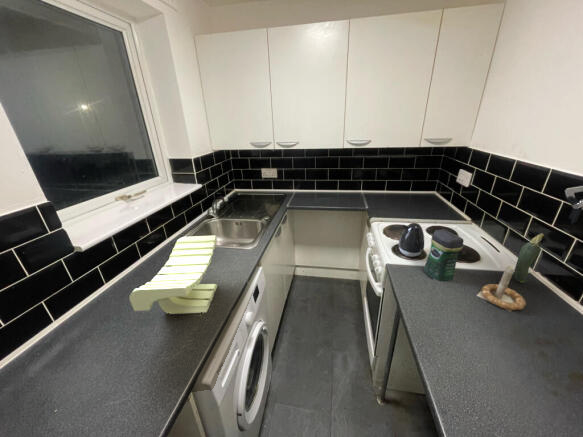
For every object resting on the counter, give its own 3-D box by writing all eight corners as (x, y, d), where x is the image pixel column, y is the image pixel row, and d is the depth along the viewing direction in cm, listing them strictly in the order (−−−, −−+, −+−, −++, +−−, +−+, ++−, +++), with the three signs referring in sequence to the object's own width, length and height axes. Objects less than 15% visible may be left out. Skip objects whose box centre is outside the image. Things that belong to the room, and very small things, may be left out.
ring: (529, 301, 74) (531, 296, 73) (516, 317, 69) (519, 311, 68) (488, 283, 82) (490, 278, 82) (475, 296, 77) (477, 291, 76)
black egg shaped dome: (394, 247, 109) (398, 218, 103) (417, 248, 108) (423, 218, 102) (400, 259, 100) (405, 228, 94) (425, 260, 99) (433, 229, 92)
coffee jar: (456, 281, 86) (470, 238, 78) (437, 284, 85) (450, 241, 77) (437, 266, 95) (448, 226, 87) (420, 269, 93) (429, 228, 86)
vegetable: (511, 283, 84) (532, 235, 76) (506, 275, 88) (526, 229, 79) (527, 285, 82) (550, 237, 74) (521, 278, 86) (543, 231, 78)
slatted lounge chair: (185, 274, 97) (175, 237, 90) (223, 272, 97) (215, 235, 90) (145, 336, 70) (125, 290, 62) (197, 334, 70) (184, 287, 62)
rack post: (518, 301, 76) (534, 268, 71) (509, 314, 71) (526, 280, 66) (485, 286, 83) (497, 256, 77) (475, 297, 78) (487, 266, 73)
